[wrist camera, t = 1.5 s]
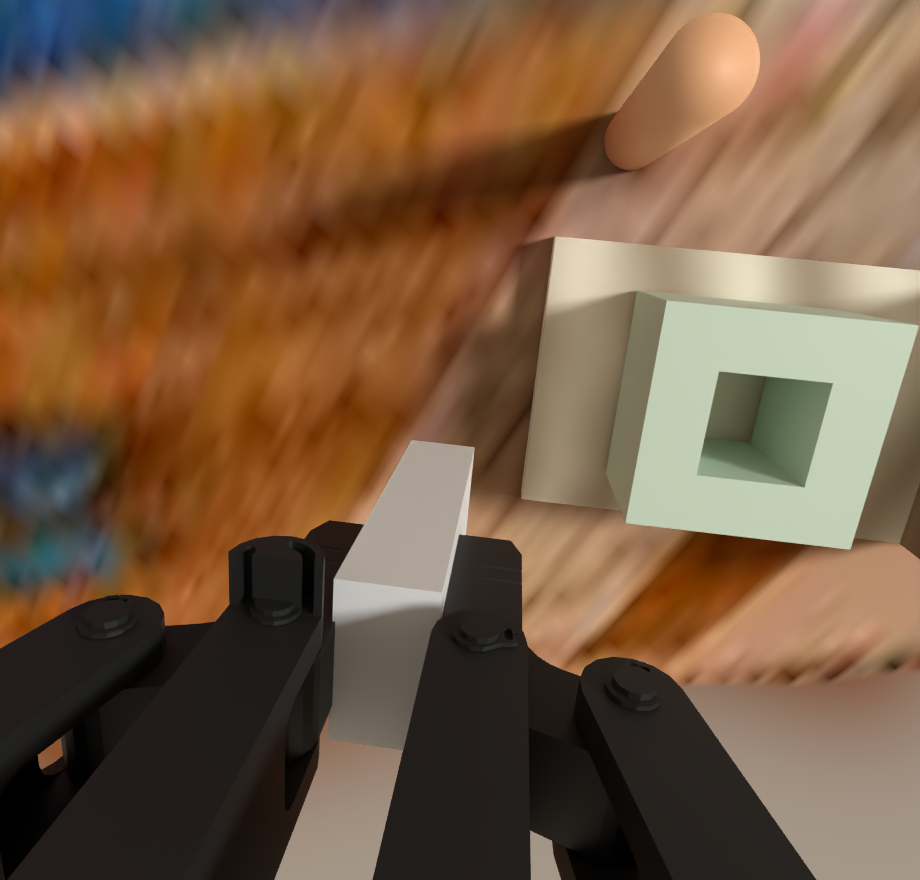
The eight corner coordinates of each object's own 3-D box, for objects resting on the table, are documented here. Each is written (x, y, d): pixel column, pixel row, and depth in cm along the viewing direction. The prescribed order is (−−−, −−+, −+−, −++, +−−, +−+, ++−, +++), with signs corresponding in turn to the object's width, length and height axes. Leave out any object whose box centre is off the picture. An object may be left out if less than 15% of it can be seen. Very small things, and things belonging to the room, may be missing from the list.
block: (605, 473, 32) (625, 522, 26) (637, 290, 29) (666, 300, 23) (788, 494, 31) (850, 549, 25) (838, 309, 28) (919, 325, 23)
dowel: (599, 168, 29) (653, 116, 18) (608, 105, 28) (671, 8, 17) (656, 172, 29) (747, 123, 17) (667, 110, 28) (770, 16, 17)
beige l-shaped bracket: (521, 488, 34) (523, 575, 25) (553, 236, 30) (569, 232, 21) (942, 537, 33) (1104, 648, 24) (1032, 282, 29) (1267, 297, 20)
